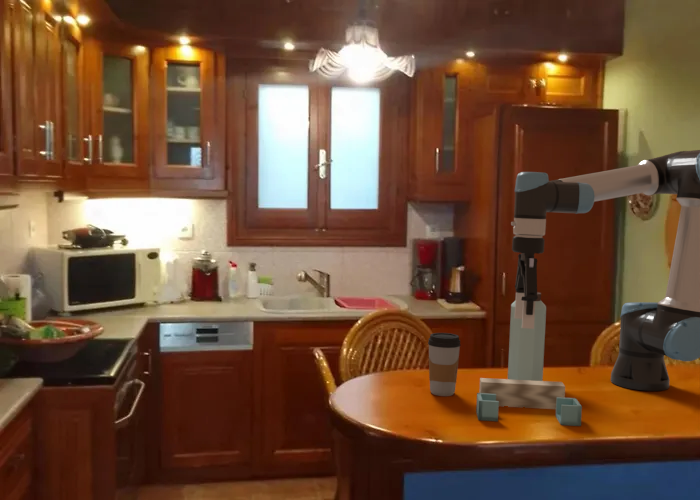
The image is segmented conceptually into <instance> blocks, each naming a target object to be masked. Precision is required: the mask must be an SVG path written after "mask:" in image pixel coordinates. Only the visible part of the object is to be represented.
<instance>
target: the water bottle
mask: <svg viewBox="0 0 700 500" xmlns="http://www.w3.org/2000/svg"><path fill="white" fill-rule="evenodd" d="M537 296H538V298H537V300H536V302H535V319H534V329H529V328H522V319H517V318H515V300H514V301H513V302H512V303H511V304H510V322H509V323H510V324H509V340H508V341H509V343H508V344H509V345H508V364H507V366H508V367H507V379H512V380H531V381H544V380H543V376H544V360H545V359H544V356H545V340H546V339H545V337H546V319H547V305H546V304H545V303H544V302H543V301H542V300H541V298H542V292H539V291H537Z"/></svg>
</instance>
